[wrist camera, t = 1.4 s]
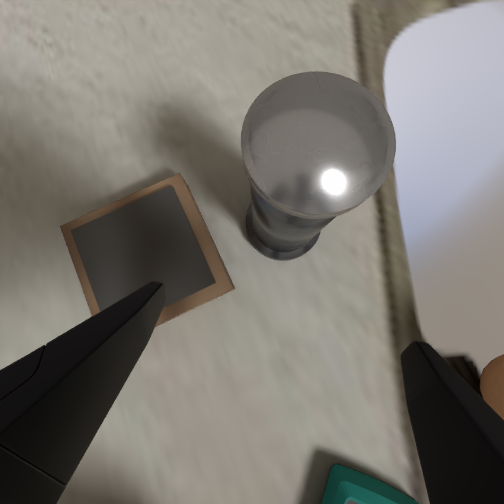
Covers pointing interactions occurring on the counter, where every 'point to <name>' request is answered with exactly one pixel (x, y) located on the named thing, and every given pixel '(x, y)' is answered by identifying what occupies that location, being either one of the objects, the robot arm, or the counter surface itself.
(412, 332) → the counter surface
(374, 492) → the digital multimeter
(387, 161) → the grey plastic cylinder
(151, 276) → the stand
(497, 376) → the egg
